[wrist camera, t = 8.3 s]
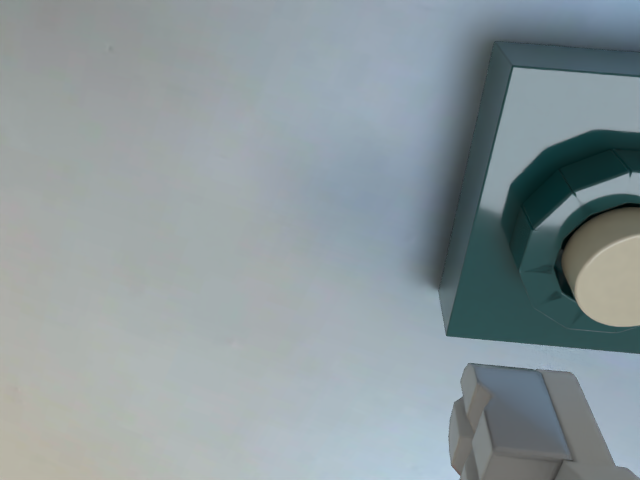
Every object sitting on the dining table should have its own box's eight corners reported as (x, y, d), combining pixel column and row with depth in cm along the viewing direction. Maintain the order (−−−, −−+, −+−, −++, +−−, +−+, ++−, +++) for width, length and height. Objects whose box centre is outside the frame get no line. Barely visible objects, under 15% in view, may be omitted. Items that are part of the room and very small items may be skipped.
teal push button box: (493, 40, 21) (524, 83, 17) (765, 61, 21) (863, 110, 17) (438, 291, 28) (450, 366, 24) (644, 310, 28) (693, 389, 24)
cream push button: (579, 200, 20) (597, 228, 18) (697, 211, 20) (724, 239, 18) (547, 291, 22) (560, 322, 20) (653, 301, 22) (673, 333, 20)
